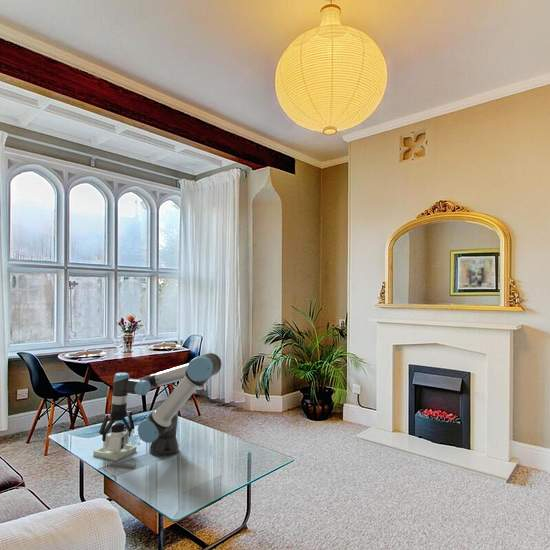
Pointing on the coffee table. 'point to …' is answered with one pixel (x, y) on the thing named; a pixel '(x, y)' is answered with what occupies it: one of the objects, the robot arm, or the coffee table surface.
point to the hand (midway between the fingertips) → (115, 445)
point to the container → (116, 438)
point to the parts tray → (114, 453)
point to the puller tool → (123, 465)
